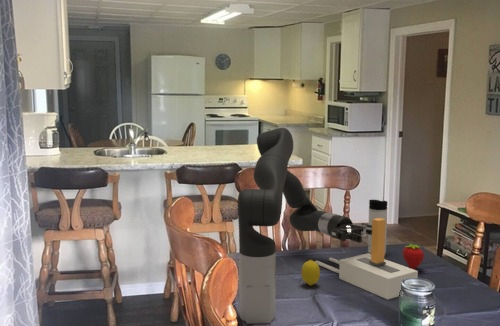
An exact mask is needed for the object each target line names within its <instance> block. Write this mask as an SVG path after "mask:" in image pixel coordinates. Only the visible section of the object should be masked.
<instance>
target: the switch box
mask: <svg viewBox="0 0 500 326" xmlns="http://www.w3.org/2000/svg"><path fill="white" fill-rule="evenodd" d="M339 261H340V264H338V265H339V268H338V269H339V273H338V275H339V277H338V278H339V279H340V280H342V281H344V282H347V284H351V285H353V286H356V287H358V288H360V289H362V290H365V291H367V292H370V293H371V294H374V295H376V296H379V297H381V298H383V299H386V300H387V301H388V300H391V299H394V298H399V297H400V296H399V292H400V290H401V281H402V280H403V279H406V278H418V274H419V271H418V270H416V269H415V270H414V269H411V268H410V267H409V266H405V265H402V264H399V263H396V262H393V261H390V260H388V259H385V258H384V262H386V264H385V265H381V266H376V265H374V264H371V263H369V261H371V254H369V253H368V252H367V253H364V254H363V253H362V254H358V255H355V256H351V257H346V258H341V259H339Z"/></svg>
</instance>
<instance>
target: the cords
mask: <svg viewBox="0 0 500 326" xmlns="http://www.w3.org/2000/svg"><path fill="white" fill-rule="evenodd" d="M328 261H330V262H332V263H334V264H336V265H339V264H340V259H339V260H338V259H336V258H333V257H329V258H328ZM314 262H316V263H317V264H318V266H319V267H323V268H325V269H328V270H329V271H332V272H334V273H337V274H339V268H337V267H334V266H332V265H329V264H326V263H324V262H321V261H320V260H315V261H314Z"/></svg>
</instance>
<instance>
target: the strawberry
mask: <svg viewBox="0 0 500 326" xmlns="http://www.w3.org/2000/svg"><path fill="white" fill-rule="evenodd" d="M402 257H403V259H404V261H405V263H406V264H407V267H408V268H411V269H414V270H416V269H417V268H418V267H419V266H420V265H421V263H422V262H423V260H424V258H425V255H424V251H423V250H422V249H421V248H420V246H419V244H414V243H413V241H411V243H409V245H404V248H403V250H402Z"/></svg>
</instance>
